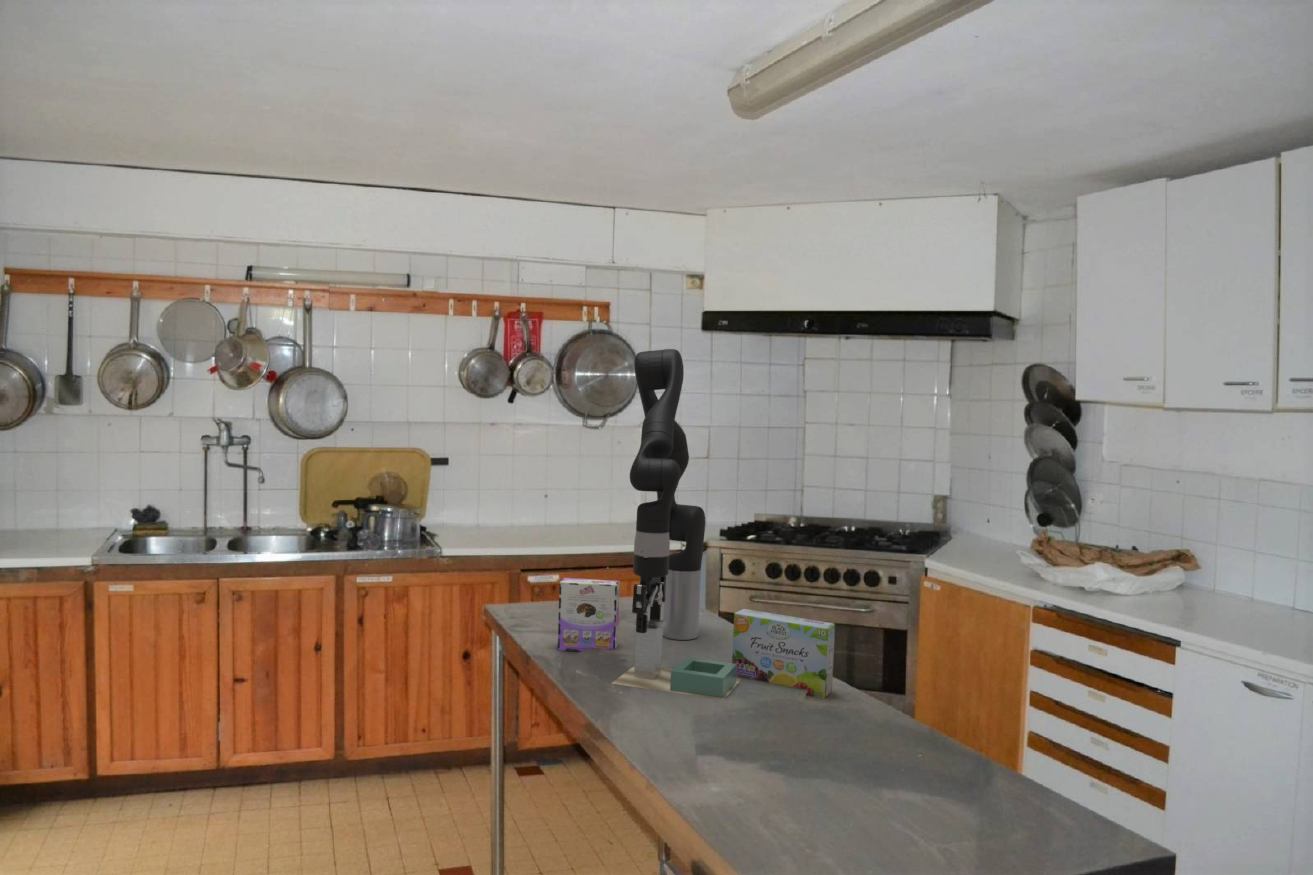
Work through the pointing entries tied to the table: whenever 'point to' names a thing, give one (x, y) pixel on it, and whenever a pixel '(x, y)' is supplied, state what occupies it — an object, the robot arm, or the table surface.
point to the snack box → (784, 650)
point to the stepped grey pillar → (649, 650)
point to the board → (657, 682)
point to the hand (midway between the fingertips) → (648, 628)
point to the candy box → (588, 614)
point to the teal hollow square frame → (703, 677)
